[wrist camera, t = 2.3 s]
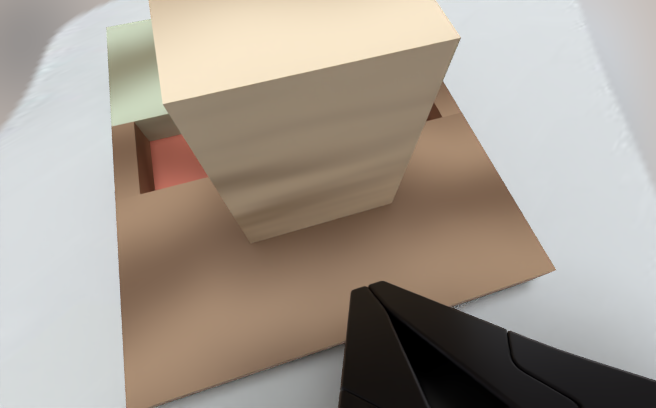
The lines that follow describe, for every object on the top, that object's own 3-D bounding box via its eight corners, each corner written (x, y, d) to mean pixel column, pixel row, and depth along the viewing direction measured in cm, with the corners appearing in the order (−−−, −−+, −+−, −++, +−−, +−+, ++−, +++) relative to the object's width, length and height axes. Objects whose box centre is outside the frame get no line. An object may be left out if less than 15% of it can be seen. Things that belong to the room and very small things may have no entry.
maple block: (391, 203, 14) (460, 37, 7) (250, 243, 13) (162, 104, 6) (333, 68, 17) (339, -141, 10) (217, 94, 17) (133, -113, 9)
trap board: (528, 281, 15) (556, 269, 13) (154, 407, 13) (126, 414, 11) (375, 6, 22) (379, -25, 21) (125, 57, 20) (106, 27, 19)
